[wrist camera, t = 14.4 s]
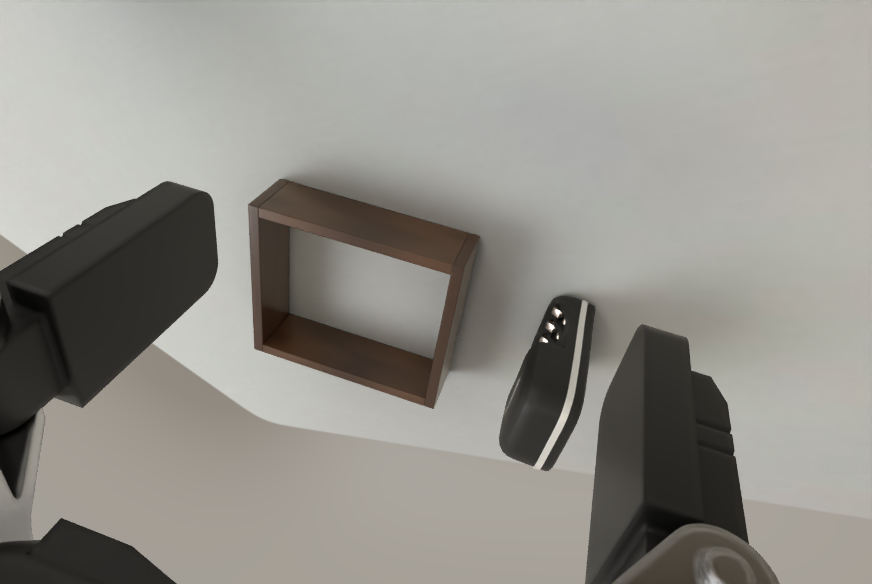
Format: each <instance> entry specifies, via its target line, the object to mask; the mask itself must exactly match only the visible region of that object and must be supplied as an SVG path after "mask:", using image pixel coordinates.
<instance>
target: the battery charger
mask: <svg viewBox="0 0 872 584" xmlns="http://www.w3.org/2000/svg"><path fill="white" fill-rule="evenodd" d="M594 315H595V306H594V305H592V304H589V303H588V302H587V301H584V300H582V301H581V300H578V299H575V298H571V297H556V298H554V299H553V300H552V301H551V303H550V304H549V306H548V308H547V311H546V313H545V315H544V317H543V320H542V322H541V325H540V327H539V329H538V331H537V334H536V336H535V338H534V341H533V343H532V346H531V349H530V350H529V351H528V353H527V355H526V356H525V359H524V361H523V363H522V366H521V368H520V371H519V373H518V376H517V378H516V380H515V383H514V385H513V387H512V389H511V391H510V394H509V396H508V399H507V403H506V407H505V411H504V415H503V420H502V425H501V430H500V436H499V443H500V447H501V449H502V451H503V452H504V453H505V454H506V455H507V456H509V457H511V458H513V459H515V460H518V461H520V462H523V463H525V464H528V465H531V466H532V468H534V469H537V470H539V469H541V470H544V471H549V470H550V469H551V468H552V467H553V465H554V464H555V462H556V460H557V459H558V457H559V455H560V453H561V452H562V450H563V448H564V446H565V444H566V443H567V441H568V439H569V437H570V435H571V433H572V432H573V430H574V428H575V426H576V424H577V421H578V419H579V416H580V413H581V410H582V406H583V402H584V396H585V390H586V382H587V375H588V367H589V358H590V349H591V339H592V330H593V322H594Z"/></svg>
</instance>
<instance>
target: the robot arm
mask: <svg viewBox="0 0 872 584" xmlns="http://www.w3.org/2000/svg"><path fill="white" fill-rule="evenodd" d="M217 268H218V255H217V242H216V229H215V216H214V205H213V201H212V198H211V196H210V195H209V194H208V193H207V192H204V191H200V190H197V189H194V188H190V187H187V186H184V185H180V184H177V183H174V182H170V181H166V182H163V183H161V184H159V185H158V186H156V187H155V188H153V189H151V190H150V191H148V192H147V193H145V194H143V195H142V196H140V197H139V198H137V199H132V200H128V201H125V202H122V203H119V204H115V205H112V206H109V207H106V208H104V209H102V210H100V211H99V212H97V213H95V214H94V215H92V216H90V217H89V218H87V219H86V220H84V221H82V224H81V225H78V224H77V225H76V226H74V227H72V228H71V229H69V230H67V231H66V232H64V233H63V236H62V237H60V236H57V237H56V238H54V239H52V240H51V241H49V242H47V243H46V244H44V245H42V246H41V247H39V248H38V249H36V250H34V251H33V252H31V253H29V254H28V255H26V256H24V257H23V258H21V259H19V260H18V261H16V262H14V263H13V264H11V265H9V266H8V267H6V268H4V269H3V270H1V271H0V584H176V583H175V582H174V581H173V580H171V579H170V578H169V577H168V576H167V575H165V574H164V573H163V572H162V571H161V570H160V569H158V568H157V567H156V566H155V565H154V564H152V563H151V562H150V561H149V560H148V559H146V558H145V557H144V556H143V555H142V554H140V553H139V552H138V551H137V550H136V549H135V548H133V547H132V546H130V545H128V544H125V543H123V542H120V541H118V540H115V539H113V538H110V537H108V536H105V535H103V534H100V533H98V532H95V531H93V530H90V529H87V528H85V527H82V526H80V525H77V524H75V523H72V522H70V521H67V520H64V519H62V518H61V519H60V520H59V521H58V522H57V523H56V524H55V525H54V526H53V528H52V529H51V530H50V531H49V532H48V533H47V534H46V535H45V536H44V537H43V538H42V539H41V540H33V534H32V527H31V512H32V504H33V498H34V492H35V485H36V478H37V472H38V465H39V459H40V452H41V445H42V439H43V432H44V426H45V415H44V412H43V409H42V407H44V406H45V405H46V404H47V403H48V402H49V401H50V400H51V399H53V398H57V399H60V400H63V401H65V402H68V403H70V404H73V405H76V406H79V407H81V408H83V407H84V406H85V405H86V404H87V403H88V402H89V401H90V400H92V398H94V397H95V396H96V395H97V394H98V393H99V392H100V391H101V390H102V389H103V388H104V387H105V386H106V385H108V384H109V383H110V382H111V381H112V380H113V379H114V378H115V377H116V376H117V375H118V374H119V373H120V372H121V371H123V370H124V369H125V368H126V367H127V366H128V365H129V364H130V363H131V362H132V361H133V360H134V359H135V358H136V357H138V355H140V354H141V353H142V352H143V351H144V350H145V349H146V348H147V347H148V346H149V345H150V344H151V343H152V342H154V341H155V340H156V339H157V338H158V337H159V336H160V335H161V334H162V333H163V332H164V331H165V330H166V329H167V328H169V327H170V326H171V325H172V324H173V323H174V322H175V321H176V320H177V319H178V318H179V317H180V316H181V315H182V314H184V313H185V312H186V311H187V310H188V309H189V308H190V307H191V306H192V305H193V304H194V303H195V302H196V301H197V300H198V299H200V298H201V297H202V296H203V295H204V294H205V293H206V292H207V291H208V289H209V288H210V287H211V285H212V283H213V281H214V279H215V276H216V273H217ZM730 431H731V424H730V418H729V411H728V405H727V402H726V400H725V399H724V397H723V396H722V394H721V392H720V391H719V389H718V388H717V386H716V384H715V383H714V381H713V379H712V378H711V377H710V376H707V375H703V374H700V373H697V372H694V371H691V364H690V353H689V343H688V339H687V338H686V337H683V336H679V335H676V334H673V333H669V332H666V331H663V330H659V329H656V328H653V327H649V326H646V325H640V326H639V327H638V329H637V331H636V332H635V334H634V336H633V338H632V340H631V342H630V345H629V347H628V349H627V351H626V353H625V355H624V357H623V359H622V361H621V363H620V365H619V367H618V370H617V372H616V374H615V376H614V378H613V380H612V382H611V384H610V386H609V389H608V391H607V394H606V397H605V400H604V403H603V407H602V411H601V416H600V422H599V433H598V444H597V456H596V467H595V479H594V490H593V501H592V512H591V524H590V535H589V546H588V557H587V569H586V581H585V584H780V583H779V581H778V579H777V577H776V575H775V574H774V572H773V571H772V569H771V568H770V566H769V565H768V564H767V562H766V561H765V560H764V559H763V557H761V555H760V554H758V552H757V551H755V550H754V548H752V547H751V546H750V545H749V542H748V536H747V529H746V523H745V516H744V510H743V504H742V497H741V490H740V484H739V477H738V470H737V464H736V457H735V456H733V454H734V444H733V438H732V434H730Z"/></svg>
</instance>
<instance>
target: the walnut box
mask: <svg viewBox="0 0 872 584" xmlns="http://www.w3.org/2000/svg"><path fill="white" fill-rule="evenodd" d="M248 213H249V236H250V258H251V281H252V304H253V327H254V349H256V350H259V351H263V352H265V353H268V354H271V355H274V356H277V357H280V358H283V359H286V360H289V361H292V362H295V363H298V364H301V365H304V366H307V367H310V368H313V369H316V370H319V371H322V372H325V373H328V374H331V375H334V376H337V377H340V378H343V379H346V380H349V381H352V382H355V383H358V384H361V385H364V386H367V387H370V388H373V389H376V390H379V391H382V392H385V393H388V394H391V395H394V396H397V397H400V398H403V399H406V400H408V401H411V402H414V403H417V404H420V405H424V406H426V407H429V408H432V409H434V407H435V404H436V402H437V399H438V397H439V395H440V392H441V390H442V387H443V385H444V382H445V380H446V378H447V375H448V373H449V369H450V365H451V360H452V356H453V352H454V347H455V343H456V339H457V334H458V330H459V325H460V321H461V317H462V312H463V308H464V304H465V299H466V295H467V291H468V286H469V282H470V278H471V273H472V269H473V265H474V260H475V256H476V252H477V247H478V243H479V239H480V236H477V235H474V234H469V233H467V232H463V231H460V230H456V229H453V228H449V227H446V226H442V225H439V224H435V223H432V222H428V221H425V220H421V219H418V218H414V217H411V216H407V215H404V214H401V213H397V212H394V211H390V210H387V209H383V208H380V207H376V206H373V205H369V204H366V203H362V202H359V201H355V200H352V199H348V198H345V197H341V196H338V195H334V194H331V193H327V192H324V191H321V190H317V189H314V188H310V187H307V186H303V185H300V184H296V183H293V182H289V181H285V180H282V179H279V180H278V181H277V182H276V183H274V184H273V185H272V186H271V187H269V188H268V189H267V190H266V191H264V192H263V193H262V194H261V195H259V196H258V197H257V198H256V199H254V200H253V201H252V202H251V203H249V204H248ZM289 226H290V227H293V228H296V229H300V230H303V231H306V232H310V233H313V234H317V235H320V236H323V237H327V238H330V239H333V240H337V241H340V242H343V243H347V244H350V245H353V246H357V247H360V248H363V249H367V250H370V251H373V252H377V253H380V254H383V255H387V256H390V257H393V258H397V259H400V260H403V261H407V262H410V263H413V264H417V265H420V266H423V267H427V268H430V269H433V270H437V271H440V272H443V273H447V274H451V277H450V282H449V286H448V291H447V296H446V301H445V306H444V311H443V316H442V321H441V326H440V330H439V335H438V340H437V345H436V350H435V355H434V360H432V359H429V358H426V357H422V356H419V355H416V354H413V353H410V352H407V351H404V350H401V349H398V348H394V347H391V346H388V345H385V344H382V343H379V342H376V341H373V340H370V339H367V338H363V337H360V336H357V335H354V334H351V333H348V332H345V331H342V330H339V329H336V328H332V327H329V326H326V325H323V324H320V323H317V322H314V321H311V320H308V319H305V318H301V317H298V316H295V315H292V314H289Z"/></svg>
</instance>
